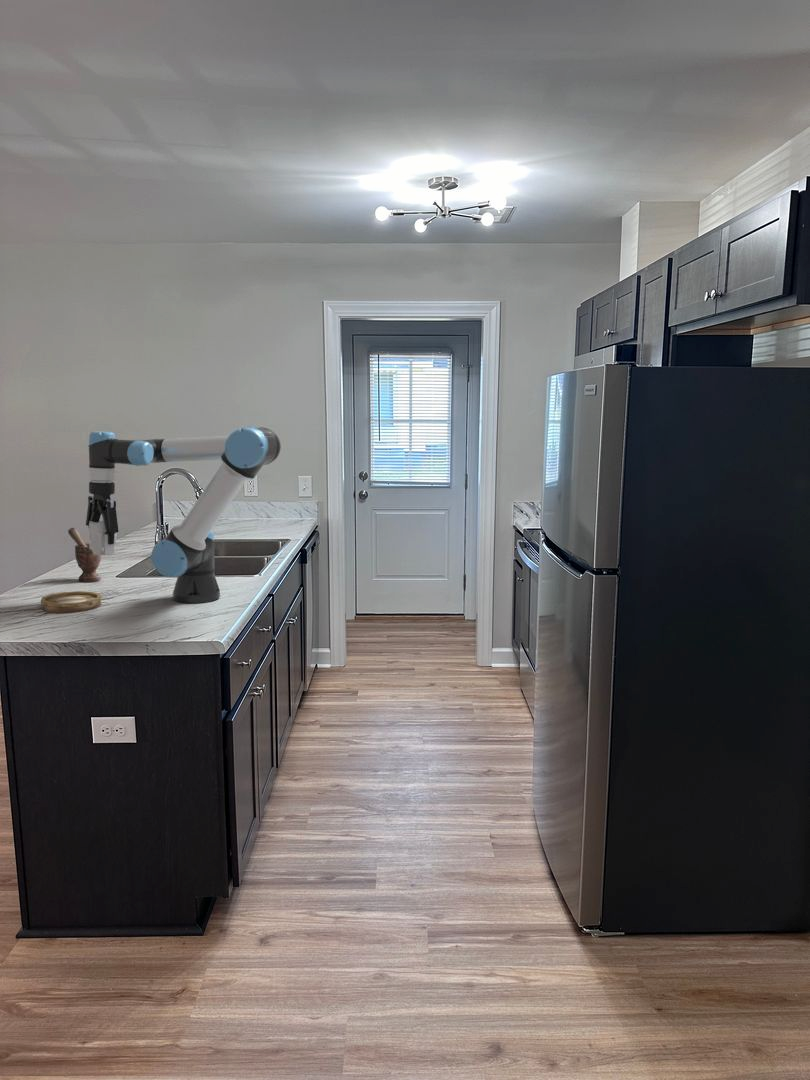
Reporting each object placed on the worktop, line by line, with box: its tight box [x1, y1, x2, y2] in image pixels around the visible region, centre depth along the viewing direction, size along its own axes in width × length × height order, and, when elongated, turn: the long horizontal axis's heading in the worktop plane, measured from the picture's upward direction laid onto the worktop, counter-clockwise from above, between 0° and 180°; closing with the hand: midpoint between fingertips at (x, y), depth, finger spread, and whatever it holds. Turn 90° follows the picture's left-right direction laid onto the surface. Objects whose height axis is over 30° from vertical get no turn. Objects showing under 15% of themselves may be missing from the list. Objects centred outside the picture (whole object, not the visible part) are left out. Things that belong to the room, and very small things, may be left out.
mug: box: [88, 520, 118, 556], centre depth 241 cm, size 11×8×10 cm
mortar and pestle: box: [67, 527, 102, 583], centre depth 272 cm, size 12×9×20 cm
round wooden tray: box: [40, 590, 102, 614], centre depth 238 cm, size 17×17×3 cm
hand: (101, 551), depth 242 cm, fingers closed on mug, 10 cm apart
